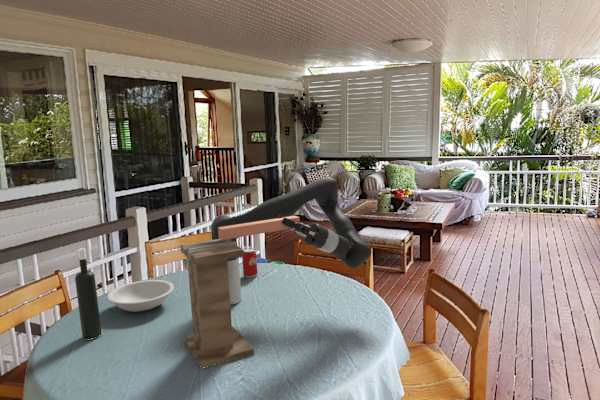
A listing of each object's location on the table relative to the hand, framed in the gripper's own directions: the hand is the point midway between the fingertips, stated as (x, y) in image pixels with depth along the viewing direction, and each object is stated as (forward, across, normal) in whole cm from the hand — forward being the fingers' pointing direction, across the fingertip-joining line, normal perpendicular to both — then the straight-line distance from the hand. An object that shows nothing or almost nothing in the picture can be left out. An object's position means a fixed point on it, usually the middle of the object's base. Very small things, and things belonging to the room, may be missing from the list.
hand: (280, 219), depth 145 cm
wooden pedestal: (+2, 0, +44) cm, 44 cm away
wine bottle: (+30, -31, +60) cm, 74 cm away
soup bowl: (+14, -47, +51) cm, 71 cm away
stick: (+5, 0, +6) cm, 8 cm away
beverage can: (-28, -56, +27) cm, 68 cm away
